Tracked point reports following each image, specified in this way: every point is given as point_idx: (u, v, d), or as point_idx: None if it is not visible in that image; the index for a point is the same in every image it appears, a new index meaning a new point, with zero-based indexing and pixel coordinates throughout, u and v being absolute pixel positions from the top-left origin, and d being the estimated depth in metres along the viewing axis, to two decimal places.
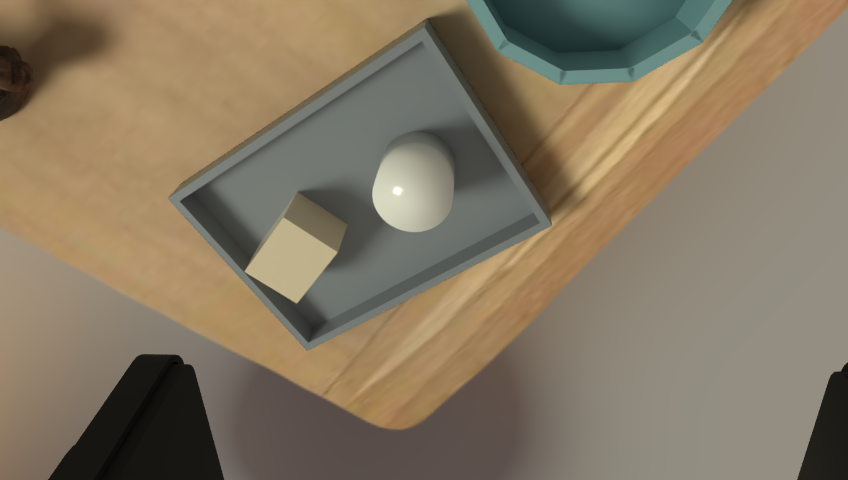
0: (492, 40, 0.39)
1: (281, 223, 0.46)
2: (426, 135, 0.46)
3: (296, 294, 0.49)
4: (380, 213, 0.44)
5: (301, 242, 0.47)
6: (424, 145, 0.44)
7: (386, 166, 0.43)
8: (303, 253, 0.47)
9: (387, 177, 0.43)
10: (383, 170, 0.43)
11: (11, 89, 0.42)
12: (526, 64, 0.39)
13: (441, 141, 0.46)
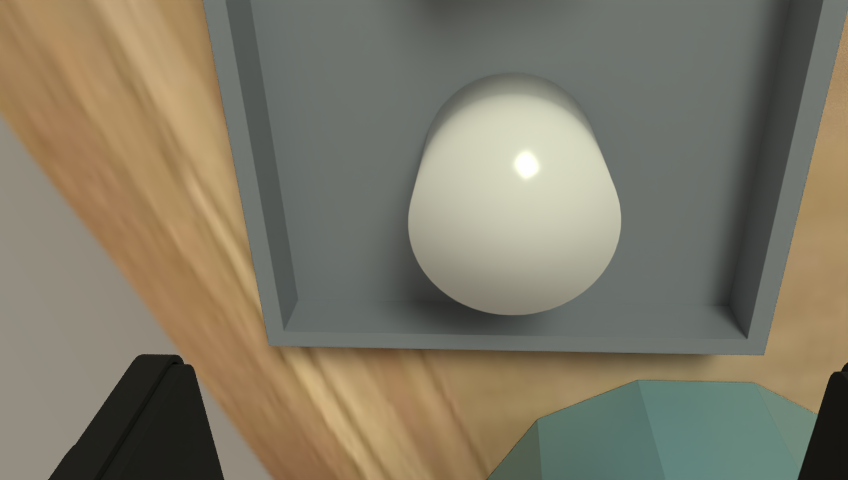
0: None
1: None
2: None
3: None
4: (518, 132, 0.16)
5: None
6: None
7: (619, 216, 0.16)
8: None
9: (595, 206, 0.16)
10: (617, 208, 0.16)
11: None
12: None
13: None
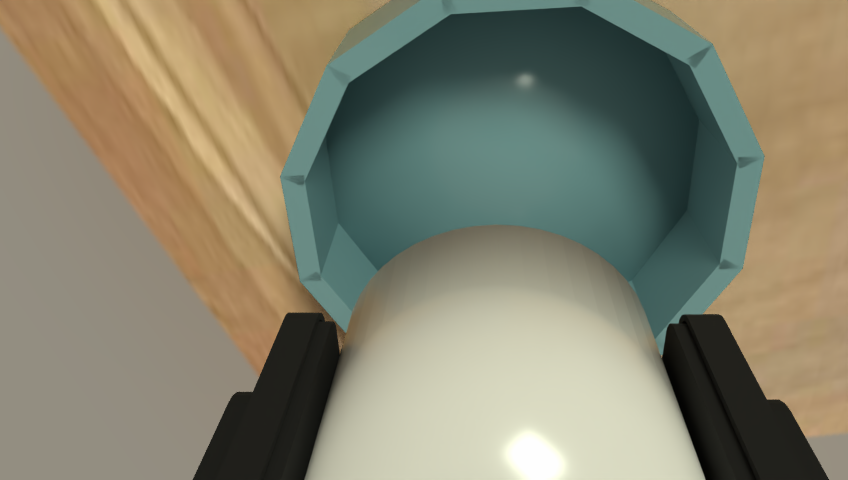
0: None
1: None
2: None
3: None
4: (517, 477, 0.06)
5: None
6: None
7: None
8: None
9: None
10: None
11: None
12: (391, 26, 0.20)
13: None
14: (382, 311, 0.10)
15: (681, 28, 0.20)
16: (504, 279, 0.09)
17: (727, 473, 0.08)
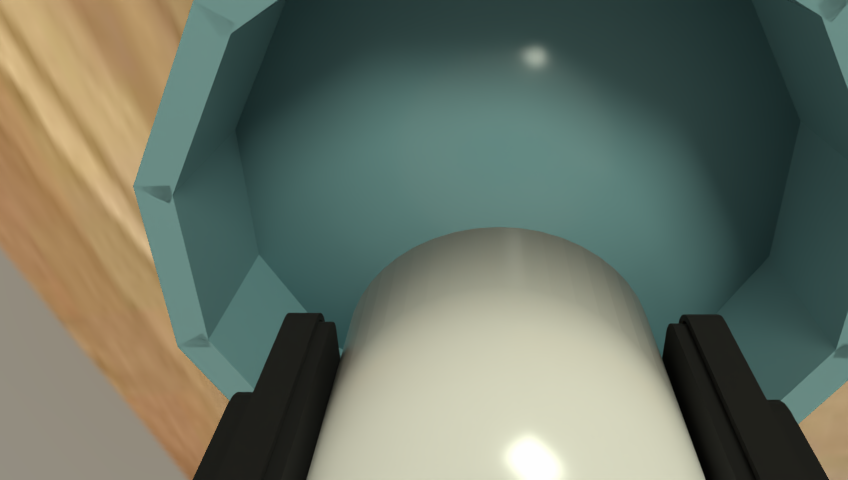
0: None
1: None
2: None
3: None
4: None
5: None
6: None
7: None
8: None
9: None
10: None
11: None
12: None
13: None
14: (383, 314, 0.10)
15: None
16: (505, 282, 0.09)
17: (727, 473, 0.08)
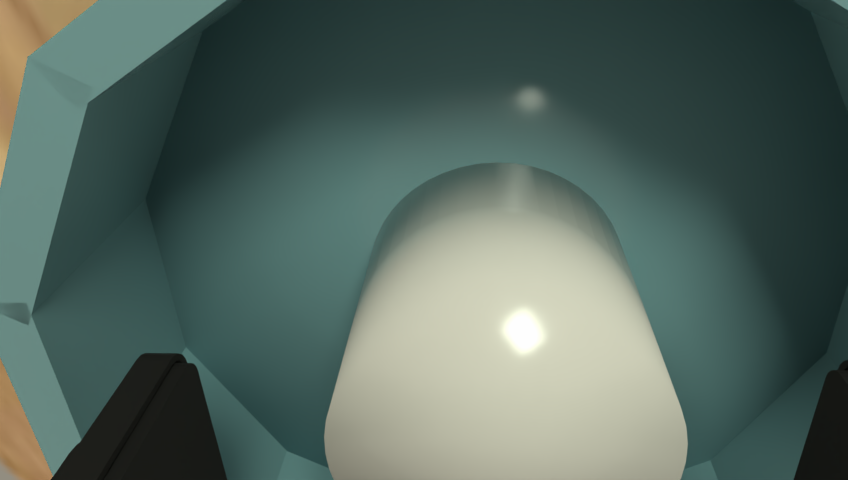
0: None
1: None
2: None
3: None
4: (511, 318, 0.09)
5: None
6: None
7: None
8: None
9: (644, 430, 0.09)
10: (682, 432, 0.09)
11: None
12: None
13: None
14: (403, 228, 0.12)
15: None
16: (502, 198, 0.11)
17: None
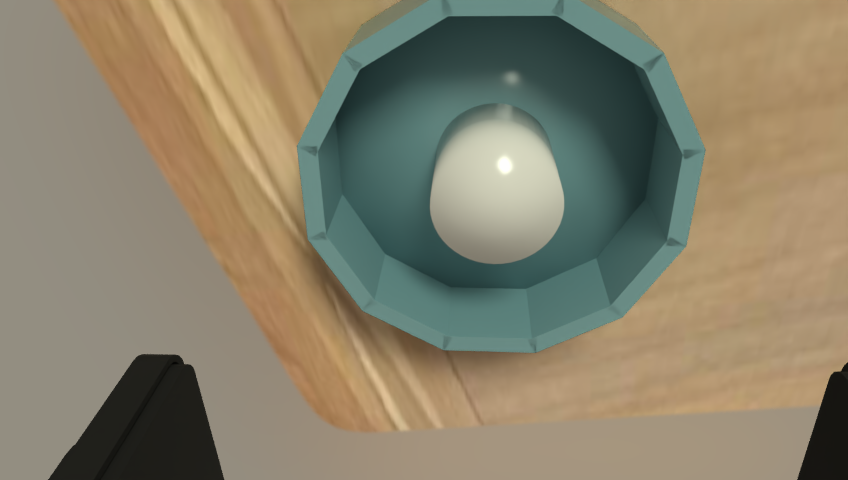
0: None
1: None
2: None
3: None
4: (501, 147, 0.25)
5: None
6: None
7: (563, 200, 0.26)
8: None
9: (548, 193, 0.26)
10: (562, 195, 0.26)
11: None
12: (398, 23, 0.24)
13: None
14: (456, 127, 0.28)
15: (638, 38, 0.24)
16: (498, 115, 0.28)
17: None
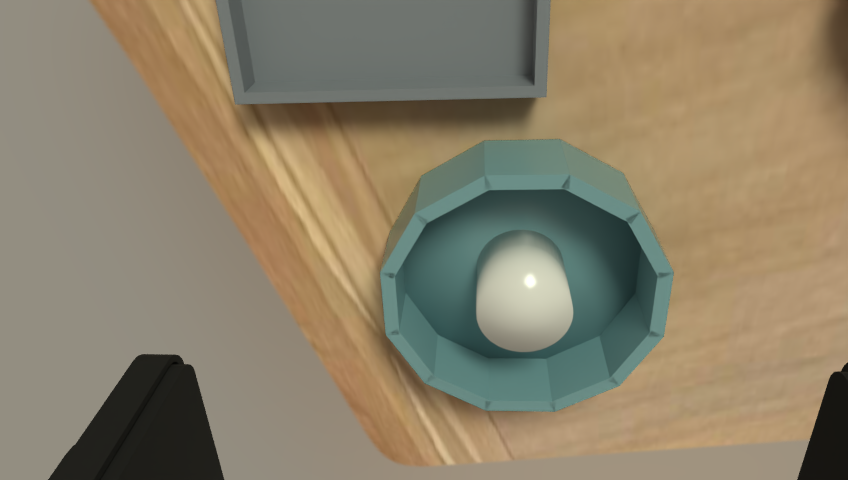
0: (498, 177, 0.34)
1: None
2: None
3: None
4: (527, 275, 0.35)
5: None
6: None
7: (572, 308, 0.36)
8: None
9: (561, 305, 0.36)
10: (571, 305, 0.36)
11: None
12: (454, 194, 0.34)
13: None
14: (493, 251, 0.39)
15: (622, 202, 0.34)
16: (523, 242, 0.38)
17: None
